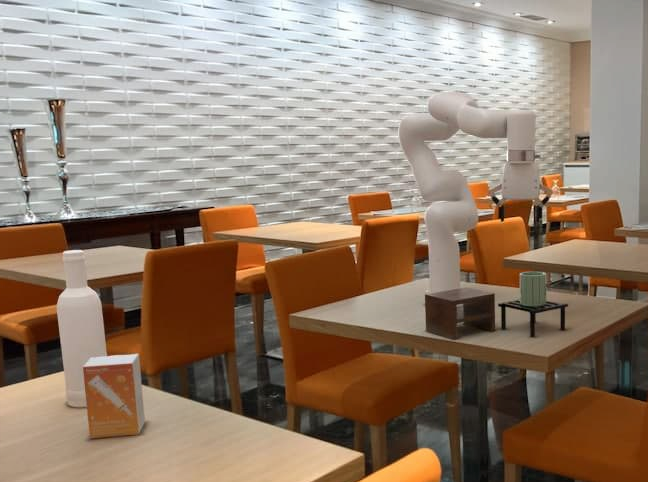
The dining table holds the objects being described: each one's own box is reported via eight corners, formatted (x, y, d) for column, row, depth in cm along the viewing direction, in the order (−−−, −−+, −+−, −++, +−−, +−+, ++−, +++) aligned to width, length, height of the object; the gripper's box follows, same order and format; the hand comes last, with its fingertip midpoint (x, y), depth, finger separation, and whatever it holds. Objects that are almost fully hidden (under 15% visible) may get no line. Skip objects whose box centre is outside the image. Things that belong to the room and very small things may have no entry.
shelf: (425, 331, 199) (424, 294, 198) (466, 322, 208) (466, 287, 206) (453, 339, 190) (452, 300, 188) (495, 330, 199) (494, 293, 197)
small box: (89, 439, 128) (81, 366, 126) (98, 426, 134) (90, 356, 132) (140, 434, 130) (132, 362, 128) (146, 422, 136) (139, 352, 134)
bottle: (67, 410, 143) (49, 255, 138) (67, 399, 150) (49, 250, 145) (113, 403, 147) (97, 251, 142) (110, 392, 154) (95, 247, 149)
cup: (514, 303, 198) (514, 273, 197) (533, 300, 202) (533, 270, 201) (532, 307, 193) (532, 276, 191) (551, 303, 197) (551, 273, 195)
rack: (498, 329, 200) (497, 303, 199) (533, 321, 208) (533, 296, 206) (532, 338, 190) (532, 311, 188) (568, 329, 198) (568, 303, 196)
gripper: (553, 156, 202) (552, 220, 206) (489, 157, 205) (489, 219, 208) (553, 157, 195) (552, 223, 198) (487, 157, 197) (487, 222, 201)
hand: (520, 221), depth 203 cm, fingers open, 9 cm apart
